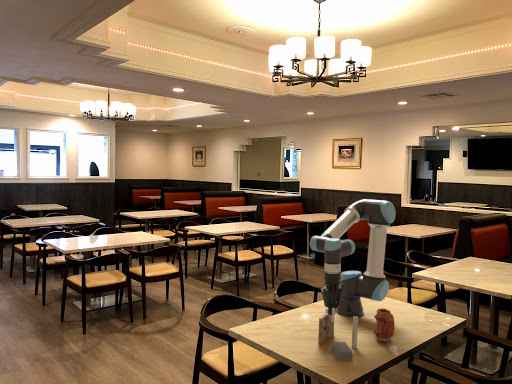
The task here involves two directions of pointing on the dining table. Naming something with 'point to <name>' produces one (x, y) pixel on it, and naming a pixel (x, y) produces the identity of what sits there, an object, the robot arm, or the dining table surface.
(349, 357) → the block
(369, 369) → the dining table surface
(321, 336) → the door
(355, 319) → the doorframe
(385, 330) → the mug
